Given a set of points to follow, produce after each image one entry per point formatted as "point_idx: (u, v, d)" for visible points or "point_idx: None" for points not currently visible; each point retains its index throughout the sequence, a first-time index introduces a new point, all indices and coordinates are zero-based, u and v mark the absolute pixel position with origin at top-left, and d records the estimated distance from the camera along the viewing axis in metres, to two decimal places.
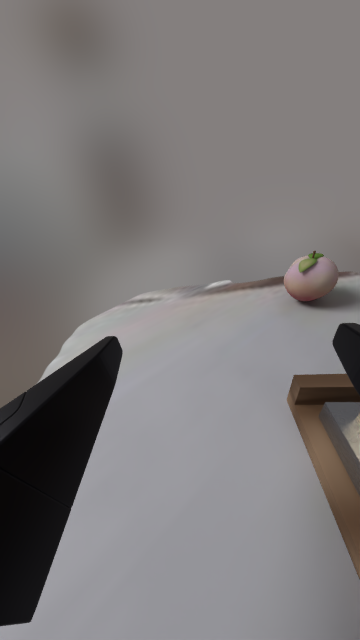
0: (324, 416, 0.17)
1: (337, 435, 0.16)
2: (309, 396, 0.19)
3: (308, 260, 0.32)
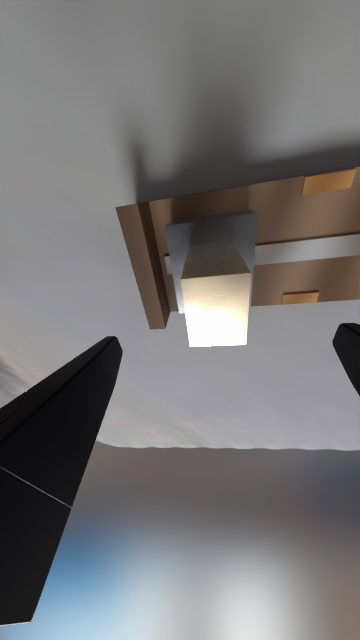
0: None
1: None
2: (166, 309, 0.18)
3: None
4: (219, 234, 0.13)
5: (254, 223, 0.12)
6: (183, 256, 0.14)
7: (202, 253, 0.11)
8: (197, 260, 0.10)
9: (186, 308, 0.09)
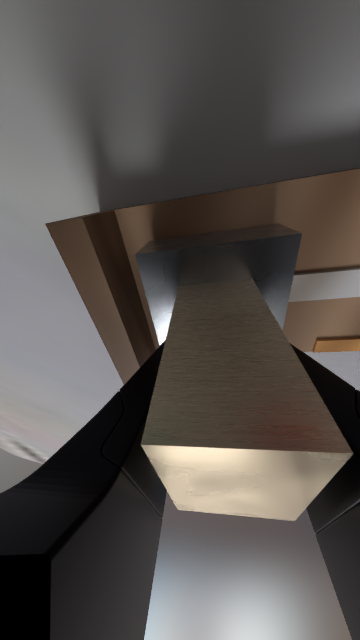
0: None
1: None
2: None
3: None
4: (230, 268, 0.07)
5: (293, 251, 0.07)
6: (169, 300, 0.08)
7: (200, 312, 0.06)
8: (189, 337, 0.05)
9: (163, 478, 0.04)
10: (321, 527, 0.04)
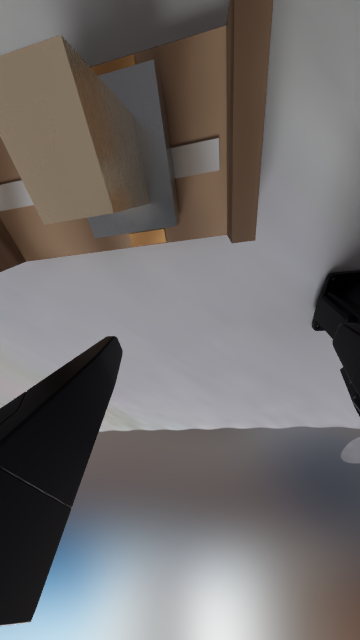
0: None
1: None
2: (5, 253, 0.16)
3: None
4: None
5: (152, 79, 0.09)
6: None
7: None
8: None
9: (4, 140, 0.06)
10: None
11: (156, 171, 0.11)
